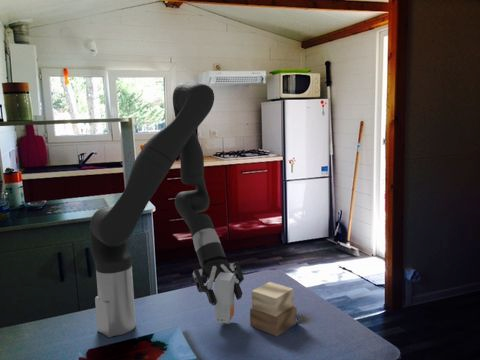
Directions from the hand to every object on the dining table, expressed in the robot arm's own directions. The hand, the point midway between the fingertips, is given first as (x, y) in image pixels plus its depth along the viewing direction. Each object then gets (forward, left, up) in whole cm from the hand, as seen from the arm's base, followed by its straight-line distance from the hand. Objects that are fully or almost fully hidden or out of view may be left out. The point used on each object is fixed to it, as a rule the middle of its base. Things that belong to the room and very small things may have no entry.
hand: (227, 301), depth 111 cm
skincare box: (0, +2, -6) cm, 6 cm away
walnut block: (+9, -9, -8) cm, 15 cm away
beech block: (+9, -8, -3) cm, 13 cm away
